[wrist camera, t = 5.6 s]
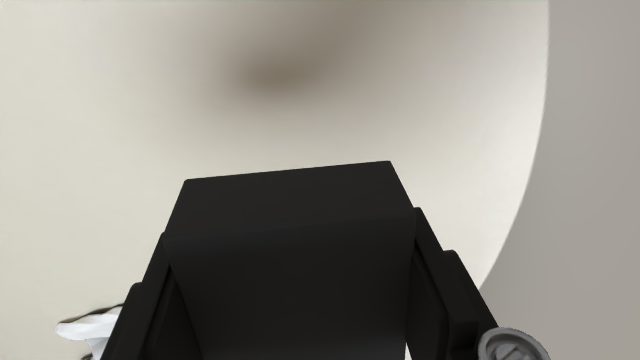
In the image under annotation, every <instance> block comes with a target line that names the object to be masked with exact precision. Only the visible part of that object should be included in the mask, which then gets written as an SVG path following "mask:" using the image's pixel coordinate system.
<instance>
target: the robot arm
mask: <svg viewBox="0 0 640 360" xmlns="http://www.w3.org/2000/svg"><path fill="white" fill-rule="evenodd" d="M414 209H415V211H416V214H417V216H416V229H415V241H414V253H413V256H412V262H411V274H410V287H409V299H408V311H407V324H406V336H405V339H406V343H407V346H408V349H409V352H410V355H411V359H412V360H551V359H550V357H549V355H548V353H547V351H546V350H545V349H544V348H543V346H542V345H541V344H540V343H539V342H538V341H536V340H535V339H534V338H533V337H531V336H530V335H527V334H526V333H524V332H522V331H519V330H516V329H512V328H504V327H501V328H500V327H499V326H498V325H497V323H496V321H495V319H494V318H493V316H492V314H491V312H490V311H489V309H488V307H487V305H486V304H485V302H484V300H483V298H482V296H481V295H480V293H479V291H478V289H477V288H476V286H475V284H474V282H473V280H472V279H471V277H470V275H469V273H468V272H467V270H466V268H465V266H464V265H463V263H462V261H461V259H460V257H459V256H458V254H457V253H456V252H455V251H454V250H446V251H443V250H442V248H441V246H440V244H439V242H438V240H437V238H436V236H435V234H434V232H433V231H432V229H431V227H430V225H429V223H428V221H427V219H426V217H425V215H424V213H423V211H422V210H421V208H420V207H415V208H414ZM163 234H164V232H163V233H162V234H161V236H160V238H159V241H158V243H157V245H156V248H155V250H154V253H153V255H152V258H151V260H150V263H149V265H148V268H147V270H146V273H145V275H144V278H143V280H142V282H138V283H135V284H133V285H132V287H131V289H130V290H129V293H128V295H127V297H126V300H125V302H124V304H123V307H122V309H121V311H120V314H119V316H118V318H117V321H116V323H115V325H114V328H113V330H112V332H111V335H110V337H109V339H108V342H107V344H106V346H105V349H104V351H103V353H102V356H101V358H100V360H203V359H202V356H201V353H200V351H199V348H198V345H197V342H196V339H195V336H194V333H193V330H192V327H191V324H190V321H189V318H188V315H187V312H186V309H185V306H184V303H183V300H182V297H181V295H180V292H179V289H178V286H177V283H176V280H175V277H174V274H173V271H172V268H171V265H170V262H169V259H168V256H167V253H166V250H165V248H164V245H163V242H162V236H163Z"/></svg>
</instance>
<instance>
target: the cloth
mask: <svg viewBox="0 0 640 360" xmlns="http://www.w3.org/2000/svg"><path fill="white" fill-rule="evenodd" d="M122 307H123V306H117V307H114V308H112V309H110V310H108V311H106V312H104V313H100V314H93V315H87V316H84V317H82V318H80V319H78V320H76V321H74V322H72V323H58V325H57V328H56V330H55V333H56V334H57V335H59V336H61V337H64V338H66V339H69V340H71V341H73V340H85V341H86V342H87V343H88V344H89V345H90V346H91V348H92V354H93V356H92V357H88V358H86V359H84V360H100V358H101V356H102V353H103V351H104V349H105V346H106V344H107V342H108V339H109V337H110V335H111V332H112V330H113V328H114V325H115V323H116V321H117V318H118V316H119V314H120V311H121V309H122Z"/></svg>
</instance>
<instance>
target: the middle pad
mask: <svg viewBox="0 0 640 360" xmlns="http://www.w3.org/2000/svg"><path fill="white" fill-rule="evenodd" d="M416 216H417V214H416V211H415V209H414V207H413V205H412V203H411V201H410V199H409V197H408V195H407V193H406V191H405V189H404V187H403V185H402V183H401V181H400V179H399V177H398V175H397V173H396V171H395V169H394V167H393V165H392V163H391V162H390V161H377V162H366V163H356V164H345V165H334V166H324V167H313V168H302V169H291V170H281V171H270V172H259V173H249V174H238V175H227V176H216V177H206V178H195V179H187V180H185V181H184V184H183V186H182V189H181V191H180V194H179V196H178V199H177V201H176V204H175V206H174V209H173V211H172V214H171V216H170V219H169V221H168V224H167V226H166V229H165V231H164V234H163V236H162V242H163V245H164V248H165V250H166V253H167V256H168V259H169V262H170V265H171V268H172V271H173V274H174V277H175V280H176V283H177V286H178V289H179V292H180V295H181V297H182V300H183V303H184V306H185V309H186V312H187V315H188V318H189V321H190V324H191V327H192V330H193V333H194V336H195V339H196V342H197V345H198V348H199V351H200V353H201V356H202V359H203V360H405V350H406V339H405V336H406V324H407V311H408V299H409V287H410V274H411V262H412V256H413V253H414V241H415V229H416Z"/></svg>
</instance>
